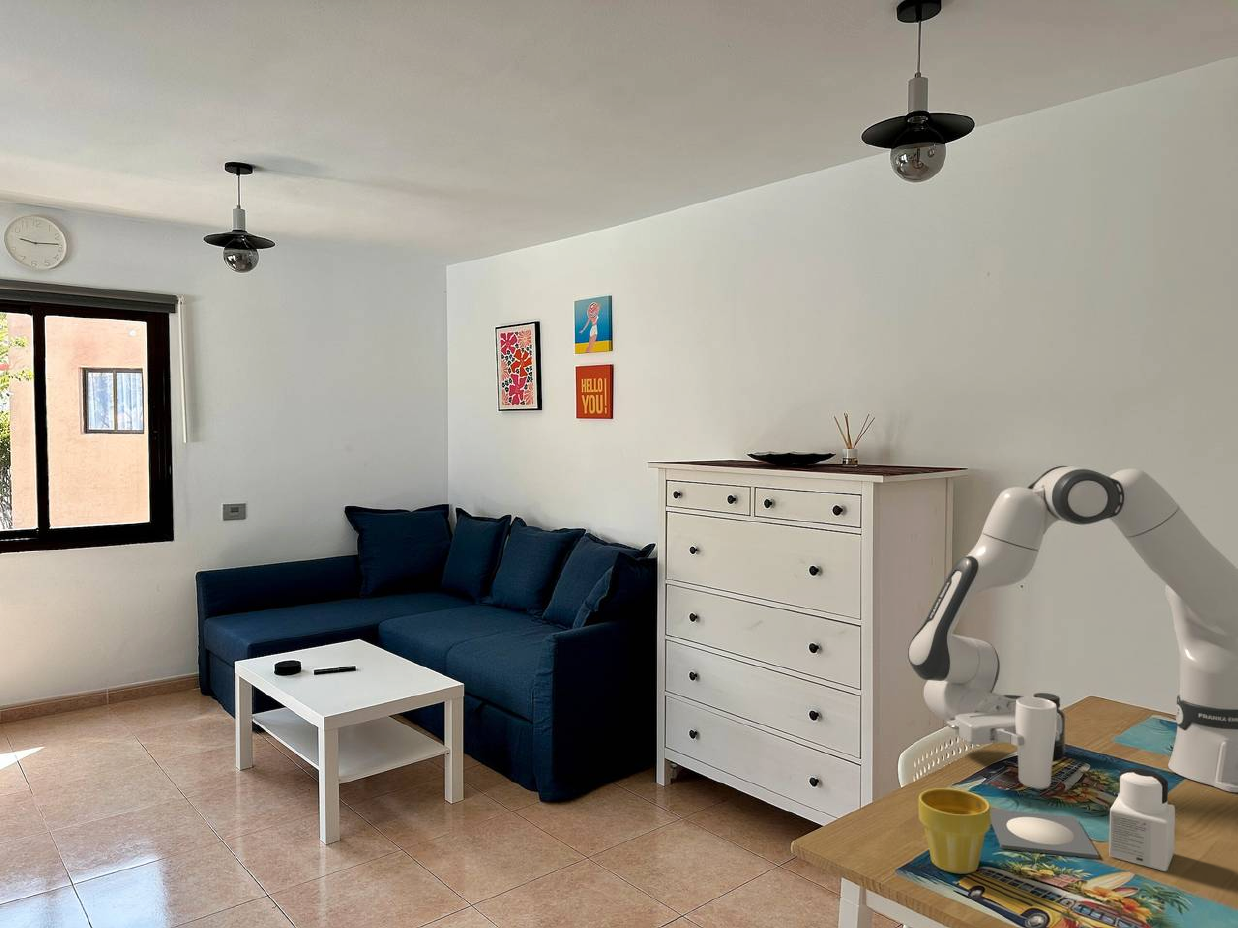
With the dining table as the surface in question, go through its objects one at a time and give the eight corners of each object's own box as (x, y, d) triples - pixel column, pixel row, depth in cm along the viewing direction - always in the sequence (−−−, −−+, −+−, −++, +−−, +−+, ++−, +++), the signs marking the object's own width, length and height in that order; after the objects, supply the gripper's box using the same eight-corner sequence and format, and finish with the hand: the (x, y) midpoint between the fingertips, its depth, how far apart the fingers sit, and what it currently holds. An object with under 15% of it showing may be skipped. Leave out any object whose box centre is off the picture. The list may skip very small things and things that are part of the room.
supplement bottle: (1020, 751, 181) (1021, 694, 181) (1041, 745, 185) (1042, 689, 184) (1050, 762, 175) (1051, 702, 175) (1071, 756, 178) (1072, 698, 178)
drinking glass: (1060, 792, 155) (1062, 709, 154) (1019, 790, 156) (1021, 707, 155) (1049, 777, 161) (1050, 697, 160) (1009, 774, 163) (1011, 695, 162)
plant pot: (903, 855, 136) (903, 793, 136) (953, 842, 140) (954, 782, 140) (953, 886, 127) (954, 819, 127) (1005, 872, 131) (1006, 807, 131)
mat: (1075, 820, 149) (1075, 816, 149) (1099, 858, 135) (1099, 854, 135) (986, 811, 152) (987, 808, 152) (1001, 848, 139) (1001, 844, 138)
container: (1118, 839, 142) (1119, 760, 141) (1174, 853, 137) (1176, 771, 136) (1108, 857, 136) (1110, 774, 135) (1166, 872, 131) (1168, 787, 130)
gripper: (940, 705, 168) (989, 727, 154) (1029, 694, 173) (1084, 715, 160) (940, 737, 168) (990, 763, 155) (1029, 726, 174) (1084, 749, 160)
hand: (1038, 739), depth 157 cm, fingers closed on drinking glass, 6 cm apart
